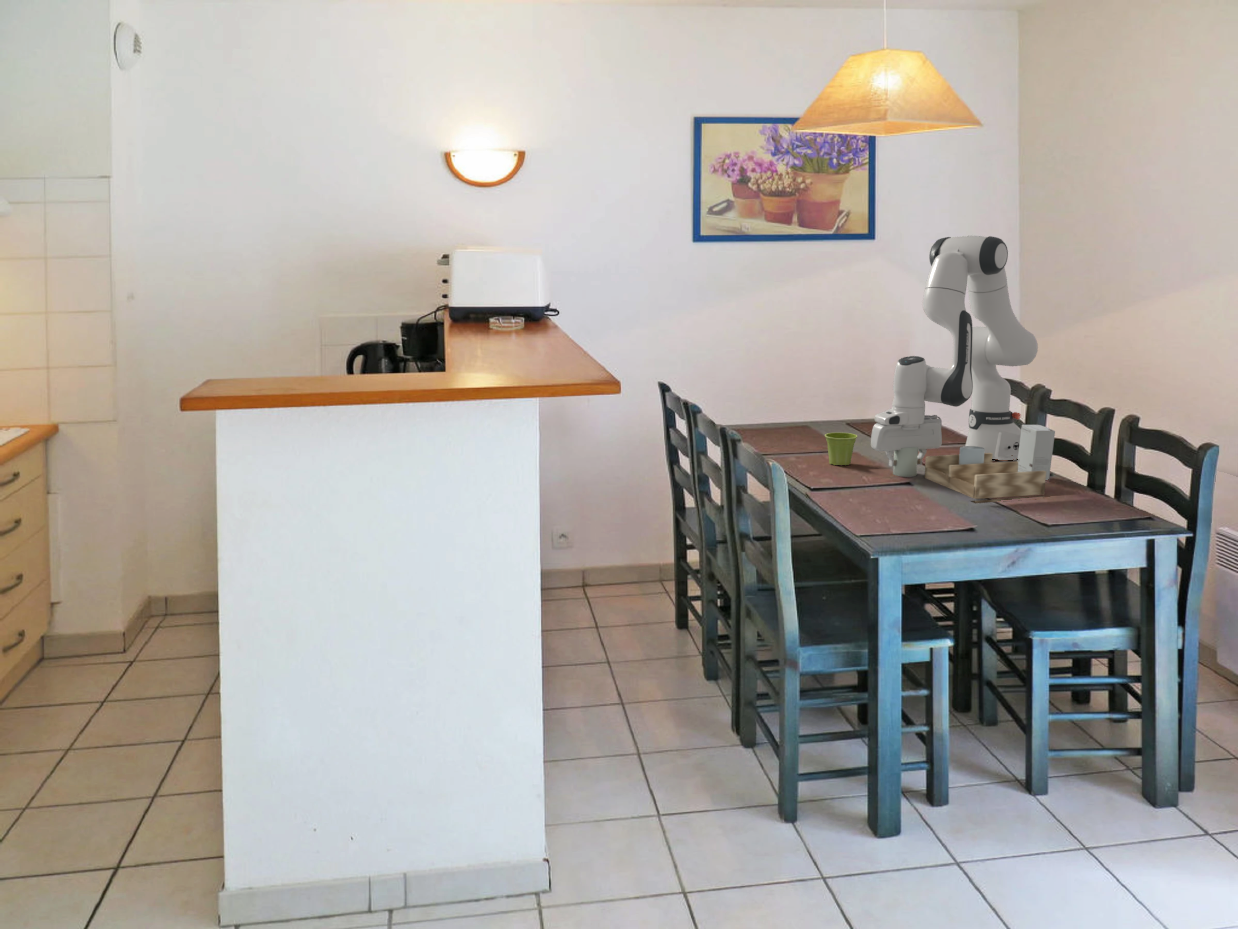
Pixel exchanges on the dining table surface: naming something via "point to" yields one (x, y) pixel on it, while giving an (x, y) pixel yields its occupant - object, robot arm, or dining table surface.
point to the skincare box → (1035, 449)
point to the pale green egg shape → (906, 462)
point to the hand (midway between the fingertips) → (905, 465)
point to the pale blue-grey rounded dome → (971, 455)
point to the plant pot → (840, 447)
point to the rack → (984, 478)
